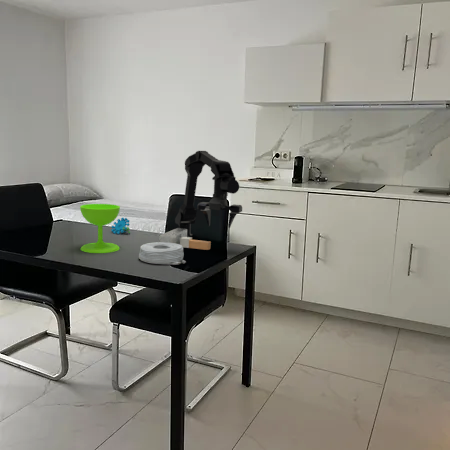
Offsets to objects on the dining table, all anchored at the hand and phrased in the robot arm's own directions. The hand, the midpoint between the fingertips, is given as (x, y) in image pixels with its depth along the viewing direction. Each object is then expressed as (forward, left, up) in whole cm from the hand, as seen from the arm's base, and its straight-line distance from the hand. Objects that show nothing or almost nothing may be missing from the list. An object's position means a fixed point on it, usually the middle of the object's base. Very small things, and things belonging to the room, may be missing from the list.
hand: (219, 227), depth 196 cm
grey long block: (0, -21, -10) cm, 24 cm away
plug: (0, -11, -10) cm, 15 cm away
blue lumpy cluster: (-13, -55, -11) cm, 57 cm away
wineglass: (+21, -46, -11) cm, 51 cm away
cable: (+26, -15, -11) cm, 32 cm away
